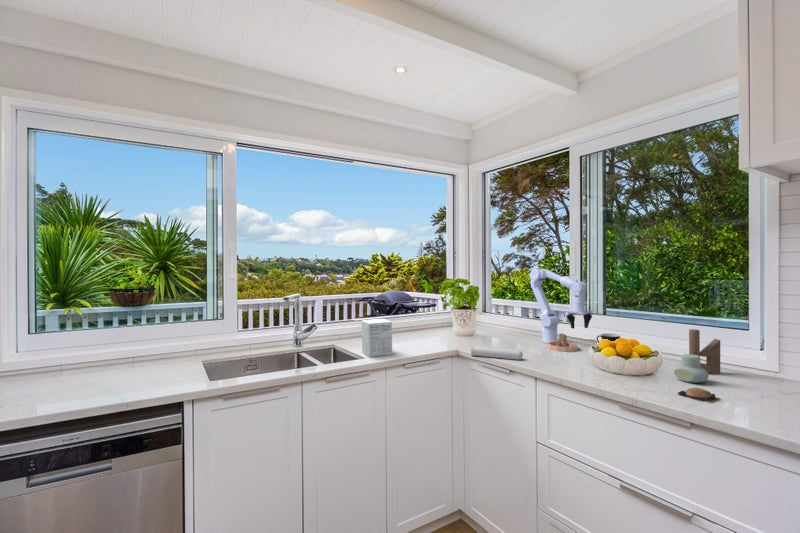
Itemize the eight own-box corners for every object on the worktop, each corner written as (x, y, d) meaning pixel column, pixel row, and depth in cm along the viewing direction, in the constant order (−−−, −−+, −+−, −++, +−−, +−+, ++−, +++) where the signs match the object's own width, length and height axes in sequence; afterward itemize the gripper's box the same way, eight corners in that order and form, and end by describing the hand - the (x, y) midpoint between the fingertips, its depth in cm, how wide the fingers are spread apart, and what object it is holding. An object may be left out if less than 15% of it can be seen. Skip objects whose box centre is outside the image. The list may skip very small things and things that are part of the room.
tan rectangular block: (558, 346, 216) (558, 333, 216) (562, 346, 216) (562, 333, 216) (563, 348, 211) (563, 335, 211) (566, 348, 211) (566, 335, 211)
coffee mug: (624, 356, 194) (623, 336, 194) (606, 356, 194) (606, 336, 194) (611, 351, 206) (611, 332, 205) (595, 351, 206) (595, 332, 206)
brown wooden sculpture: (720, 374, 162) (720, 330, 162) (691, 373, 164) (691, 330, 164) (715, 371, 166) (715, 329, 166) (687, 371, 168) (686, 329, 168)
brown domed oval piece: (722, 400, 134) (722, 390, 134) (710, 405, 130) (710, 394, 130) (687, 392, 143) (687, 382, 143) (675, 396, 139) (675, 385, 139)
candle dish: (543, 346, 221) (543, 340, 221) (569, 345, 222) (569, 340, 222) (555, 352, 206) (555, 346, 206) (583, 351, 207) (583, 345, 207)
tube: (523, 350, 194) (474, 346, 205) (522, 349, 189) (471, 345, 200) (523, 361, 193) (473, 356, 203) (521, 360, 188) (470, 355, 199)
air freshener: (669, 378, 158) (669, 353, 158) (683, 376, 161) (683, 351, 161) (698, 386, 148) (698, 359, 147) (713, 383, 151) (712, 357, 150)
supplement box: (393, 354, 206) (392, 321, 206) (368, 357, 201) (368, 323, 201) (384, 349, 218) (384, 318, 218) (361, 352, 213) (361, 320, 213)
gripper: (569, 304, 213) (570, 329, 213) (595, 304, 214) (596, 328, 214) (563, 303, 220) (564, 327, 220) (588, 302, 221) (589, 326, 221)
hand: (579, 328), depth 217 cm, fingers open, 7 cm apart
